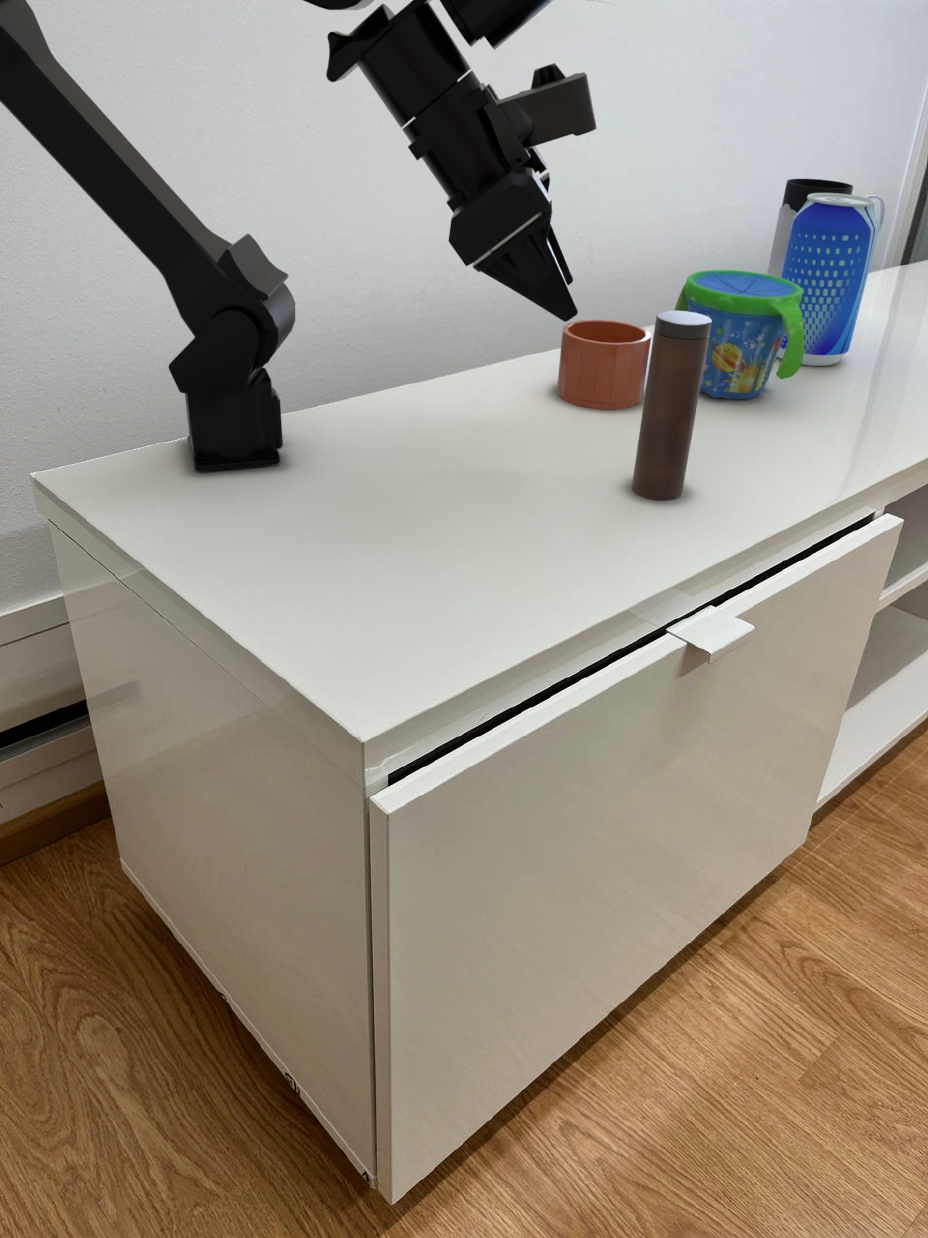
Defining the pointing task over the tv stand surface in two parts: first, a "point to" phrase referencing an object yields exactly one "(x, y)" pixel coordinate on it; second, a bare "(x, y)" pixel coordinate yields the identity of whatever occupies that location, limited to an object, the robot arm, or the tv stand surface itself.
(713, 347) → the snack cup
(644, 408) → the brown thermos bottle
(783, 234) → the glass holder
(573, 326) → the terracotta cup
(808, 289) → the beer can
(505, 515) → the tv stand surface
